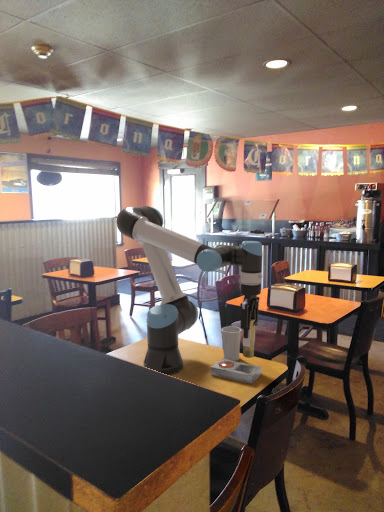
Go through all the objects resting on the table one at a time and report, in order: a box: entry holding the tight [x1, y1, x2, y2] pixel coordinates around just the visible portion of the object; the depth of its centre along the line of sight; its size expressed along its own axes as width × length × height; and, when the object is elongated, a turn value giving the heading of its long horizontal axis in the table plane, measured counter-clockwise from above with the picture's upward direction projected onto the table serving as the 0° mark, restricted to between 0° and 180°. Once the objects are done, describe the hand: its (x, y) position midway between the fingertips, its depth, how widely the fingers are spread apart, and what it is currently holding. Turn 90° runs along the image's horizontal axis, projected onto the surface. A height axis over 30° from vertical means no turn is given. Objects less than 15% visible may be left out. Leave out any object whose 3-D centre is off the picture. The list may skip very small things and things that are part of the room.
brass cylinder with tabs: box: [242, 319, 259, 359], centre depth 148 cm, size 6×4×14 cm, turn 60°
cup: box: [221, 325, 242, 362], centre depth 159 cm, size 8×8×12 cm
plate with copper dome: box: [210, 358, 262, 385], centre depth 144 cm, size 16×9×3 cm, turn 60°
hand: (248, 343), depth 148 cm, fingers closed on brass cylinder with tabs, 4 cm apart
